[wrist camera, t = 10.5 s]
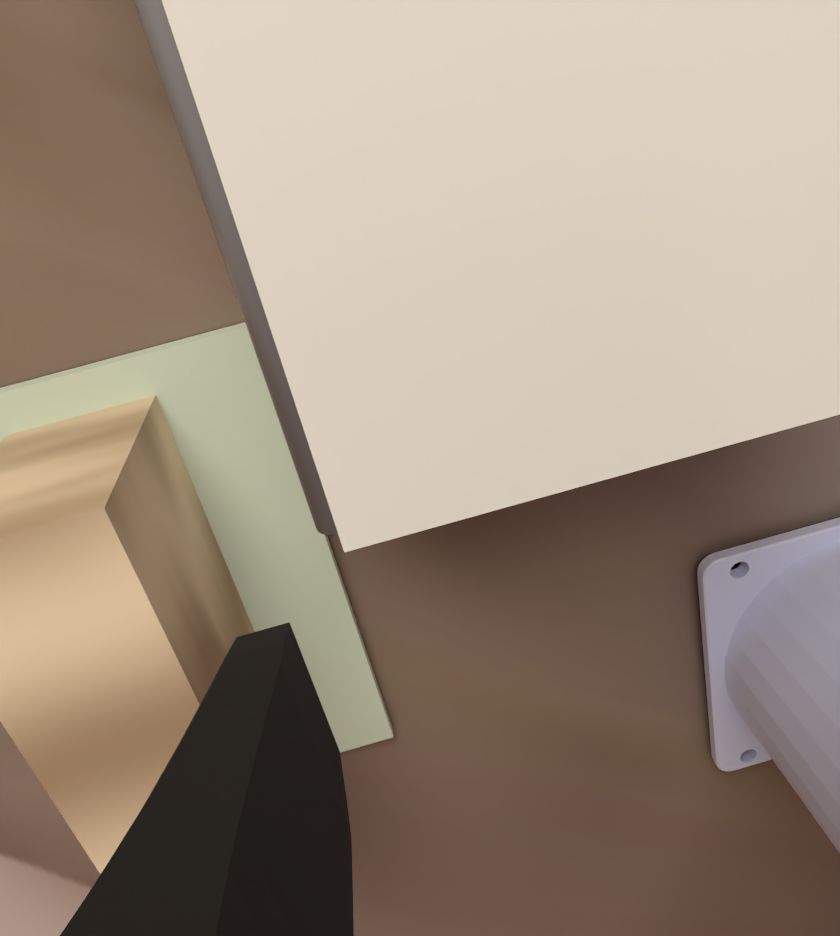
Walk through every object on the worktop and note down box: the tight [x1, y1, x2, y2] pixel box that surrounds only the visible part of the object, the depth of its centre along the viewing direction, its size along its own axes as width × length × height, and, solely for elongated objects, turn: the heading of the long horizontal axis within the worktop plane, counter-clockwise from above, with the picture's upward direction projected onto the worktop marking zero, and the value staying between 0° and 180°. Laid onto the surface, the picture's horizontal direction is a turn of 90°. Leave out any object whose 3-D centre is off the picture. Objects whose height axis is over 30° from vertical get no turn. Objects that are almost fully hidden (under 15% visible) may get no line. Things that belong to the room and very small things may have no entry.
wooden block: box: [0, 395, 255, 874], centre depth 16 cm, size 10×3×5 cm, turn 13°
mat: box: [0, 322, 393, 752], centre depth 19 cm, size 8×12×1 cm, turn 13°
